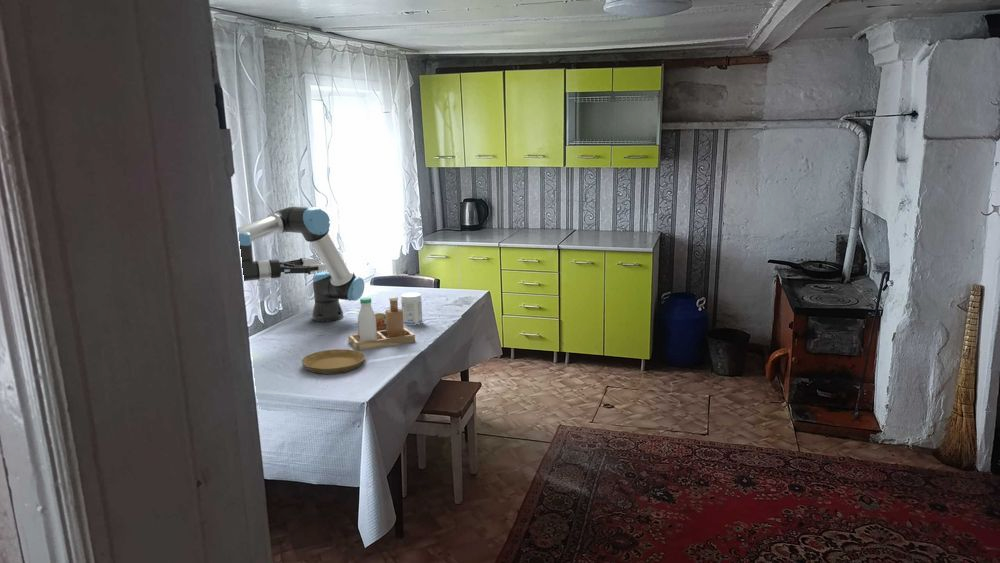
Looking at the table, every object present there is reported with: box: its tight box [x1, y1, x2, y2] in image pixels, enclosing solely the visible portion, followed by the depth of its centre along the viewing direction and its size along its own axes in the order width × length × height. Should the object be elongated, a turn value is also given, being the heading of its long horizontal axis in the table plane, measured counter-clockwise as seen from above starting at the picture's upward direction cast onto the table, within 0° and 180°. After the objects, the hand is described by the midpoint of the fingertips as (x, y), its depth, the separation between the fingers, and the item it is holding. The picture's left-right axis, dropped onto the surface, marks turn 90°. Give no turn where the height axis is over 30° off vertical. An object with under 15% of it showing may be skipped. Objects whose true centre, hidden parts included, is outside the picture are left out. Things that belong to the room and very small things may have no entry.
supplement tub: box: [400, 292, 423, 326], centre depth 319 cm, size 10×10×15 cm
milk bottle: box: [357, 297, 378, 342], centre depth 285 cm, size 8×8×20 cm
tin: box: [375, 312, 386, 331], centre depth 308 cm, size 15×3×8 cm, turn 129°
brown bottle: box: [384, 296, 405, 338], centre depth 291 cm, size 8×8×19 cm
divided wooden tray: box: [348, 326, 416, 351], centre depth 290 cm, size 13×26×4 cm, turn 117°
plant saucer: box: [301, 348, 366, 375], centre depth 264 cm, size 24×24×3 cm
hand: (322, 264), depth 279 cm, fingers open, 13 cm apart
